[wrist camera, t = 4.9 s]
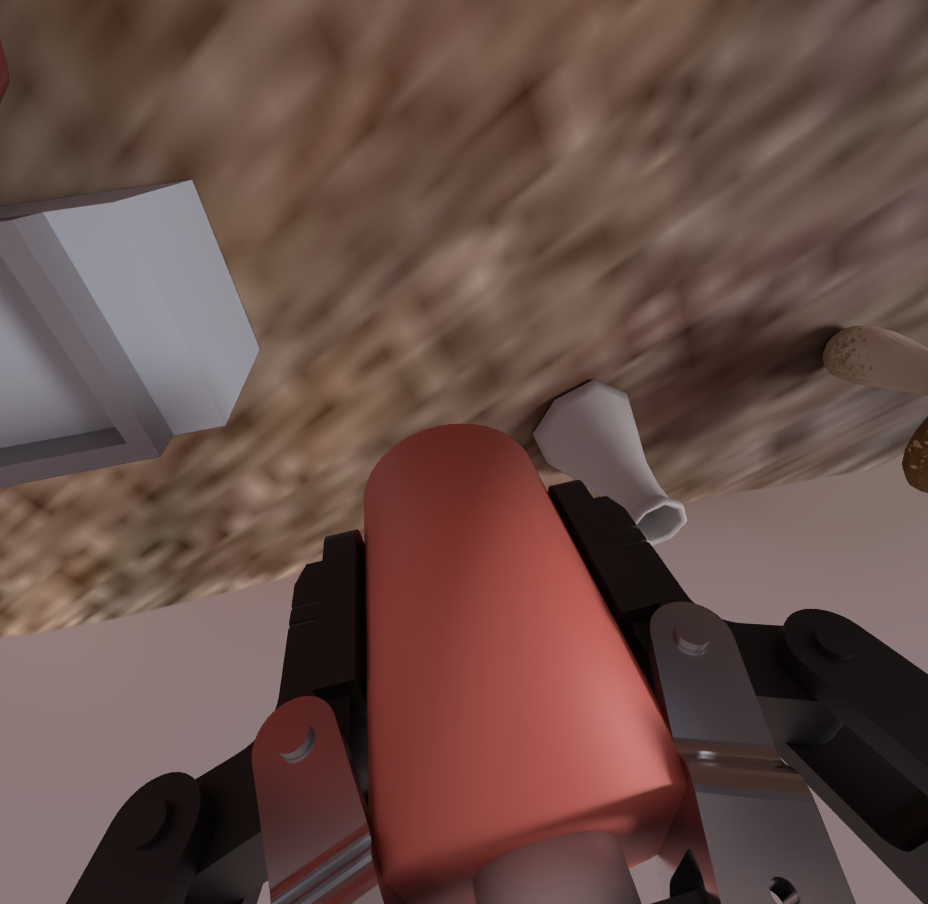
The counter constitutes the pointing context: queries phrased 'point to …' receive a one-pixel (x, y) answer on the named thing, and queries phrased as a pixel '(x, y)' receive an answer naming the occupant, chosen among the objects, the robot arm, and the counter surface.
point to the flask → (607, 456)
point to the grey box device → (113, 330)
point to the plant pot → (3, 73)
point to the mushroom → (885, 379)
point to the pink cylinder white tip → (500, 690)
